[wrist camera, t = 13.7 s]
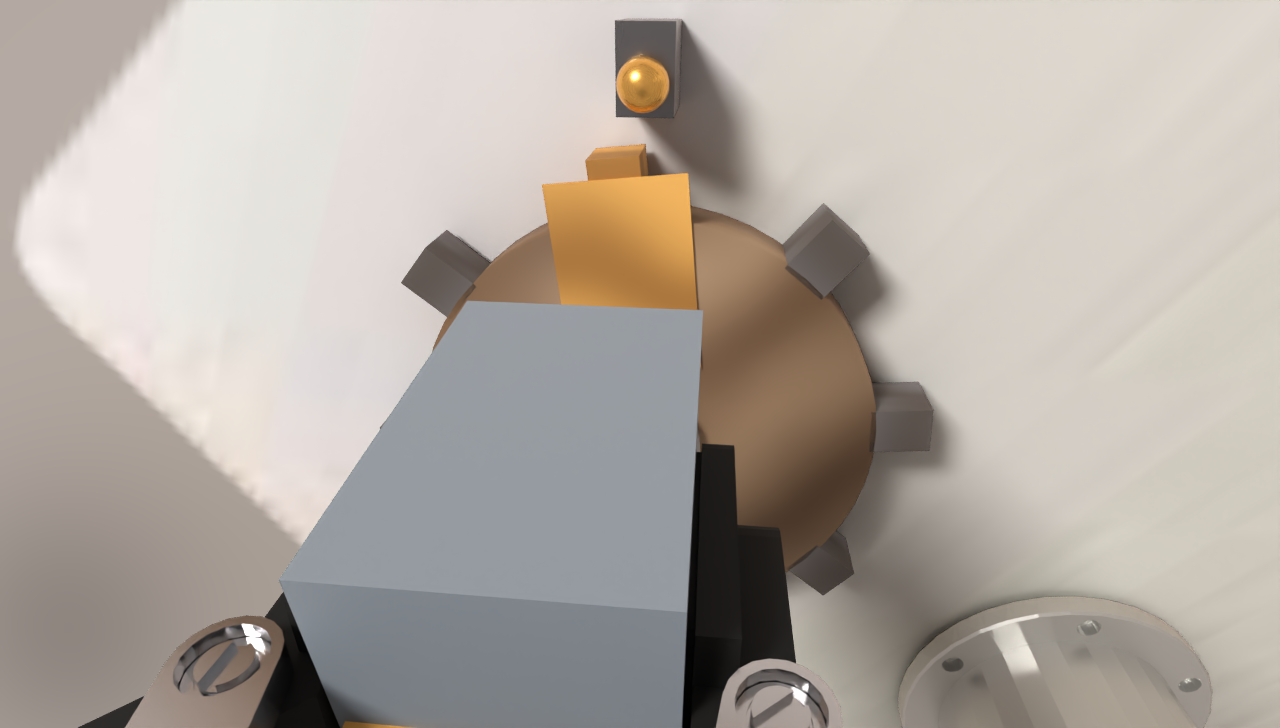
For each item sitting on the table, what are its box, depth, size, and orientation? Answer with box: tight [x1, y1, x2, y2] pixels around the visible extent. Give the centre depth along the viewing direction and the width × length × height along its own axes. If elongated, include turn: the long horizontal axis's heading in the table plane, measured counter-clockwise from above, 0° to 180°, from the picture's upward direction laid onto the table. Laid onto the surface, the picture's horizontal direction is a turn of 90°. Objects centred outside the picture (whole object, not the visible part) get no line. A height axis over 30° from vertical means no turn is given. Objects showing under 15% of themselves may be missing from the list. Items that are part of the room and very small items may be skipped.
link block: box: [279, 301, 703, 728], centre depth 11 cm, size 6×4×6 cm, turn 179°
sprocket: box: [380, 144, 933, 595], centre depth 25 cm, size 20×20×4 cm
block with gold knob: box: [615, 19, 682, 118], centre depth 20 cm, size 2×2×4 cm
